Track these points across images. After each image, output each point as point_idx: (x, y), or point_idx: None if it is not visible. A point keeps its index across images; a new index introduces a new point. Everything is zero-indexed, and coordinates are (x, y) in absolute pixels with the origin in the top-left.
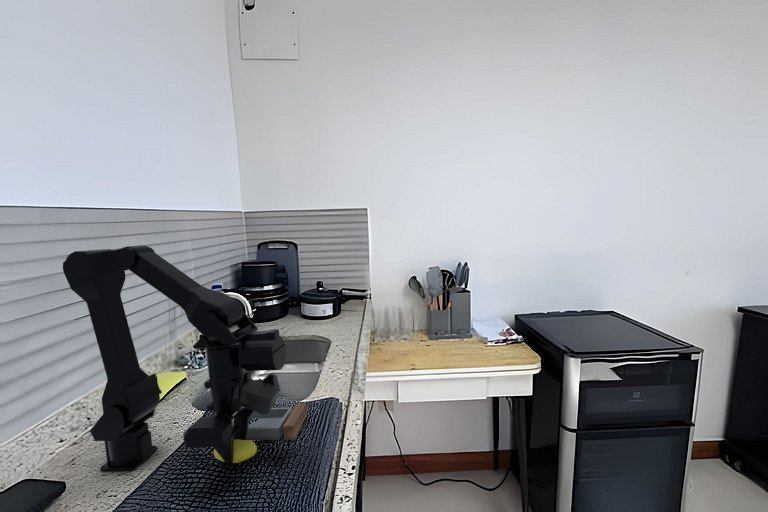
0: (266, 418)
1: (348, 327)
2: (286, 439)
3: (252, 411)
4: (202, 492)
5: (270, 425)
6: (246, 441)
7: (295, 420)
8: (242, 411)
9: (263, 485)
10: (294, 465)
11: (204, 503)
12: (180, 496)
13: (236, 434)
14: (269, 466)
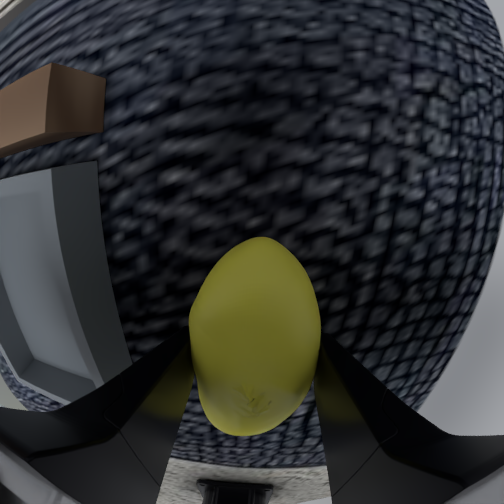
0: (6, 288)
1: None
2: (98, 120)
3: (50, 459)
4: (420, 350)
5: (25, 256)
6: (246, 334)
7: (10, 90)
8: (97, 500)
9: (448, 133)
10: (324, 12)
11: (466, 318)
12: (409, 391)
13: (178, 403)
14: (327, 131)
